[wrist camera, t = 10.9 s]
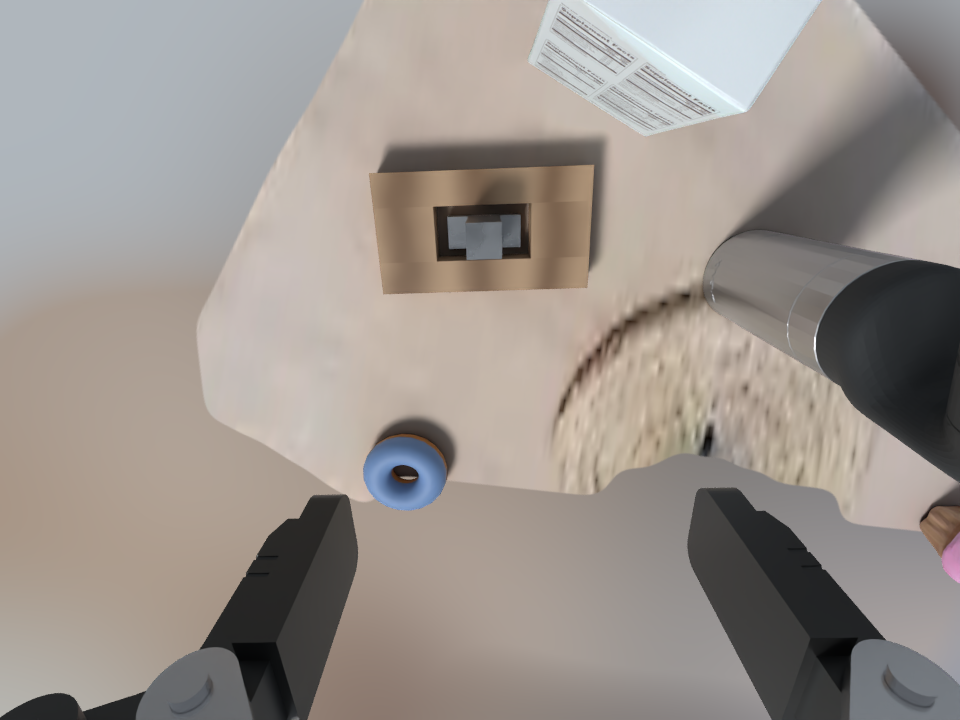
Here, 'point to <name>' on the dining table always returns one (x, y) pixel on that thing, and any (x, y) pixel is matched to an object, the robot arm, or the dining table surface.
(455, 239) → the grey metal t-block
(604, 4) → the supplement box
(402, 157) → the dining table surface
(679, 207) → the dining table surface
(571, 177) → the frame
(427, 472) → the doughnut
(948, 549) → the cupcake
